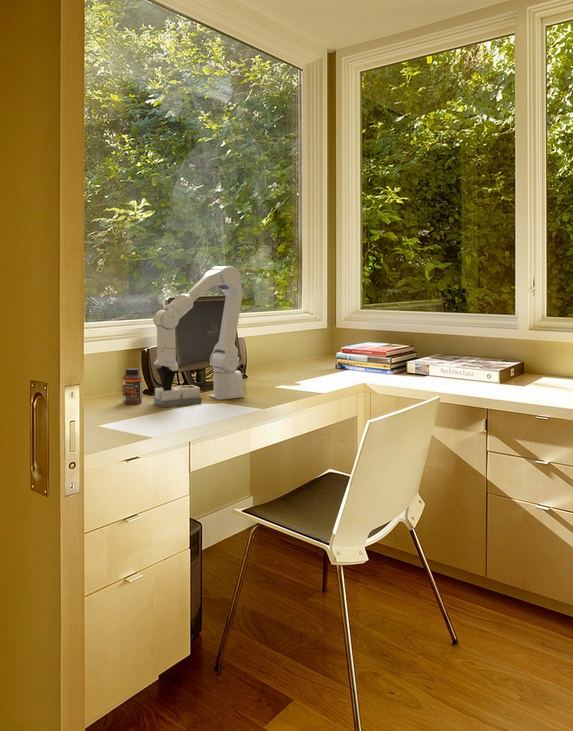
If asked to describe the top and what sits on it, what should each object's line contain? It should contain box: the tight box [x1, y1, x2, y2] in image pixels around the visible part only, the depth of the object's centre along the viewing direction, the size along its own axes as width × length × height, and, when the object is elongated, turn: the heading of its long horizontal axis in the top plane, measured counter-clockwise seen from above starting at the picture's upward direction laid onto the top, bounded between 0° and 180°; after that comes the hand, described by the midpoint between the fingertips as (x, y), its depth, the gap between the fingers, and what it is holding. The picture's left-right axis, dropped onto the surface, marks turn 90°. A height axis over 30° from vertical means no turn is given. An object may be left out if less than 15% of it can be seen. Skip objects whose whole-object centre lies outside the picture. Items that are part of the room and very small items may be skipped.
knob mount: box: [153, 384, 202, 408], centre depth 201 cm, size 13×8×5 cm, turn 122°
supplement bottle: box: [122, 367, 143, 405], centre depth 200 cm, size 6×6×11 cm
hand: (167, 390), depth 199 cm, fingers closed, pressing on cream knob
